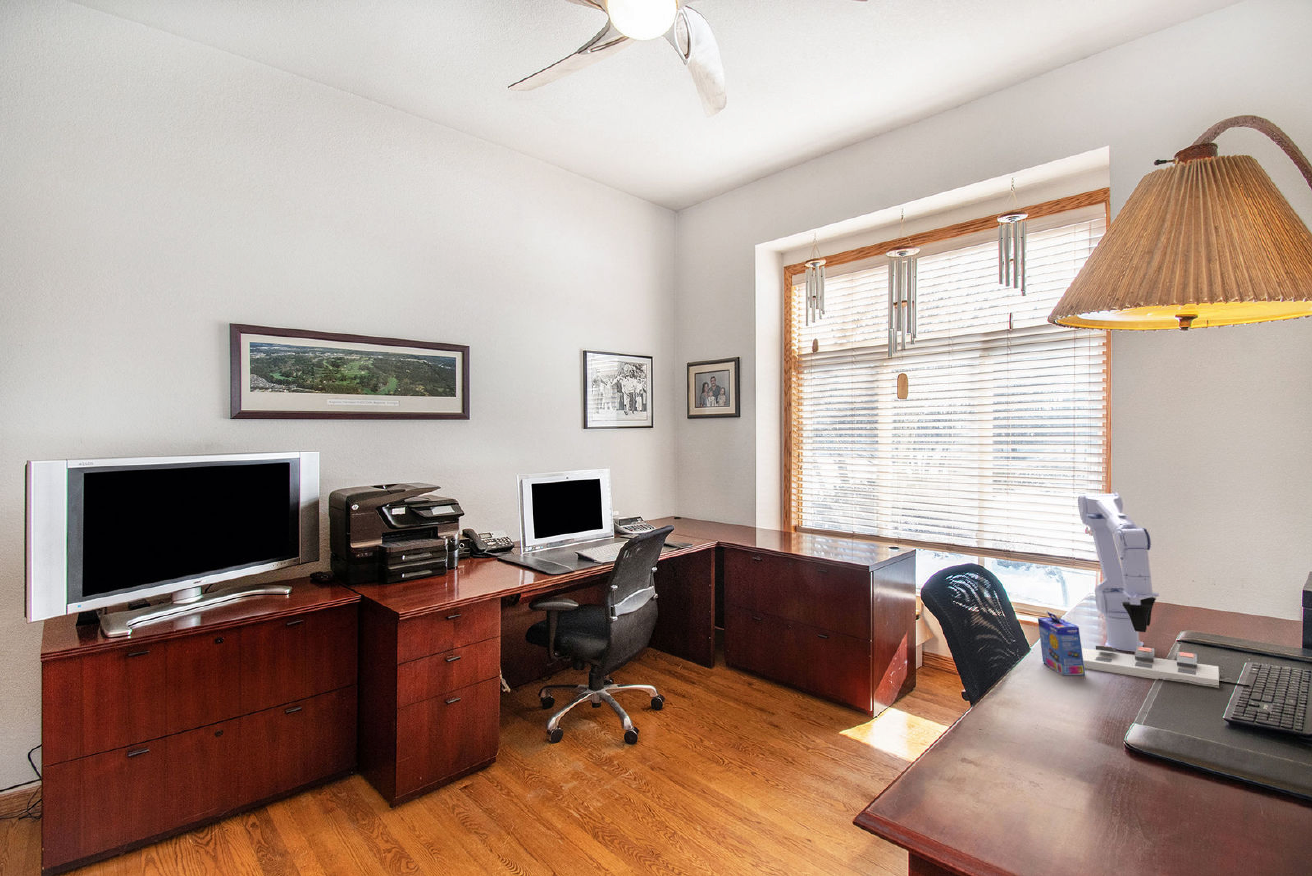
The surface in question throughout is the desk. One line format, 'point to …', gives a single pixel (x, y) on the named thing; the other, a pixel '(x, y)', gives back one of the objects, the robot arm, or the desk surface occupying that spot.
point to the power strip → (1148, 667)
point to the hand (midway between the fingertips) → (1142, 628)
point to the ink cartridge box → (1061, 645)
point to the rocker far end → (1106, 648)
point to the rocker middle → (1144, 654)
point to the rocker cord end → (1187, 659)
